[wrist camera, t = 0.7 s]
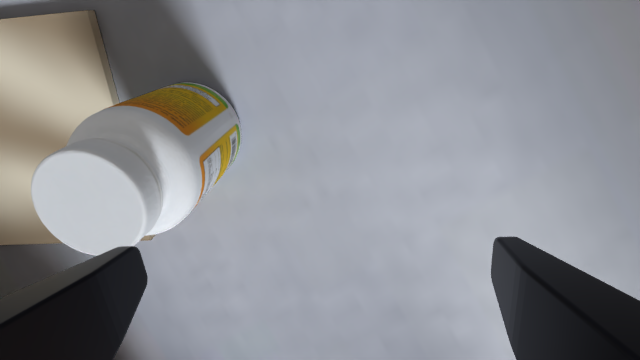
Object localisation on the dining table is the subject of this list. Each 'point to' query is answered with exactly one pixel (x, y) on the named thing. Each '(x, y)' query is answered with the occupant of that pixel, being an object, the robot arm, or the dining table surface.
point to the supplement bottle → (136, 167)
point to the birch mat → (44, 105)
